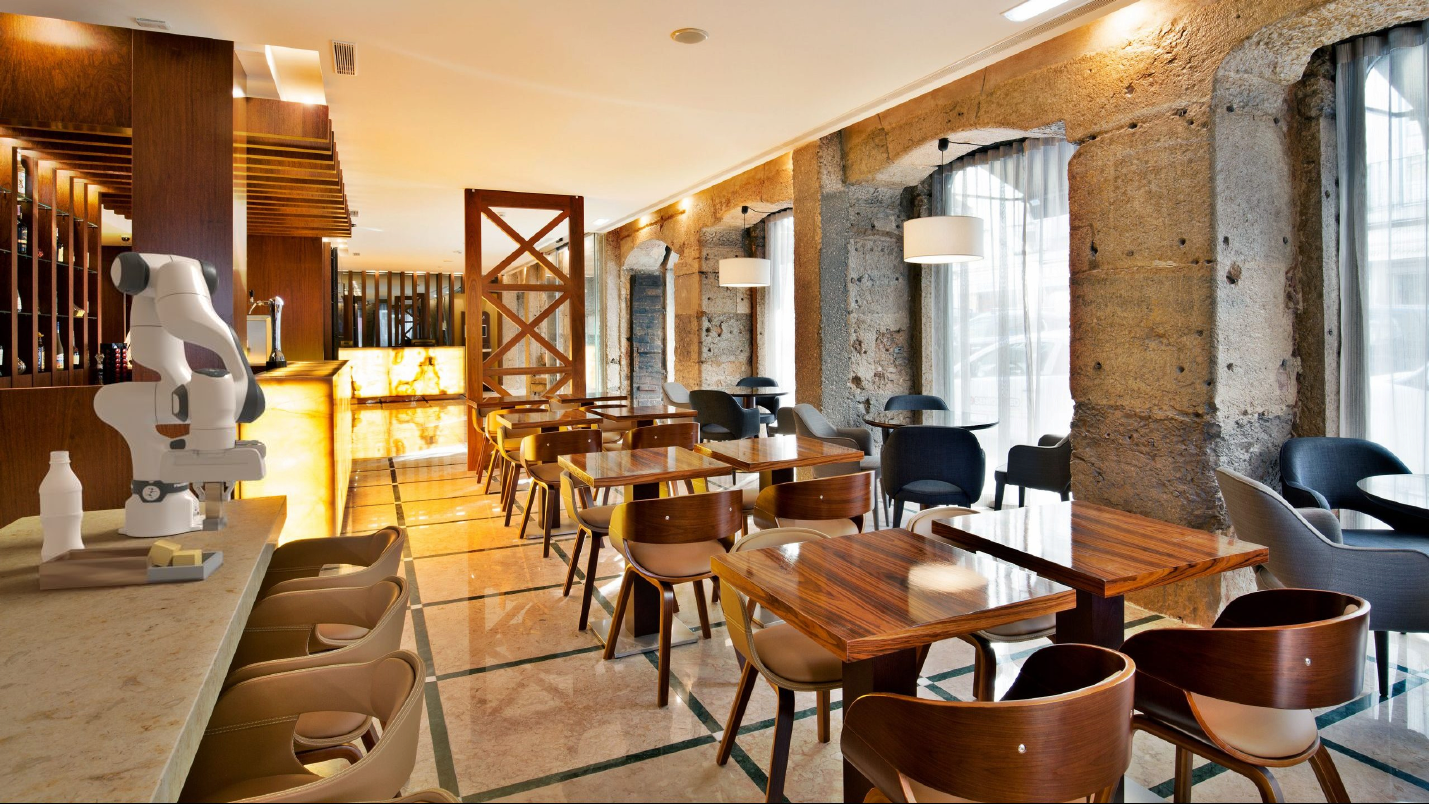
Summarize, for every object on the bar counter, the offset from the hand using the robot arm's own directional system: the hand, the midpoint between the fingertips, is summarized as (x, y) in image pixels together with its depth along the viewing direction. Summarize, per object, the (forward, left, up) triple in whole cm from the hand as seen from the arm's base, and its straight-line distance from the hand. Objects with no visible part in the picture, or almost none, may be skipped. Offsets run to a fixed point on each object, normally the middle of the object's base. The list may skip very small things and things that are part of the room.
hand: (214, 501), depth 170 cm
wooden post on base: (0, 0, -6) cm, 6 cm away
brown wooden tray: (+10, -17, -14) cm, 24 cm away
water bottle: (-3, -30, -14) cm, 33 cm away
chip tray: (+10, -3, -14) cm, 17 cm away
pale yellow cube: (+9, -3, -11) cm, 15 cm away
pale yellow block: (+10, -7, -9) cm, 15 cm away
